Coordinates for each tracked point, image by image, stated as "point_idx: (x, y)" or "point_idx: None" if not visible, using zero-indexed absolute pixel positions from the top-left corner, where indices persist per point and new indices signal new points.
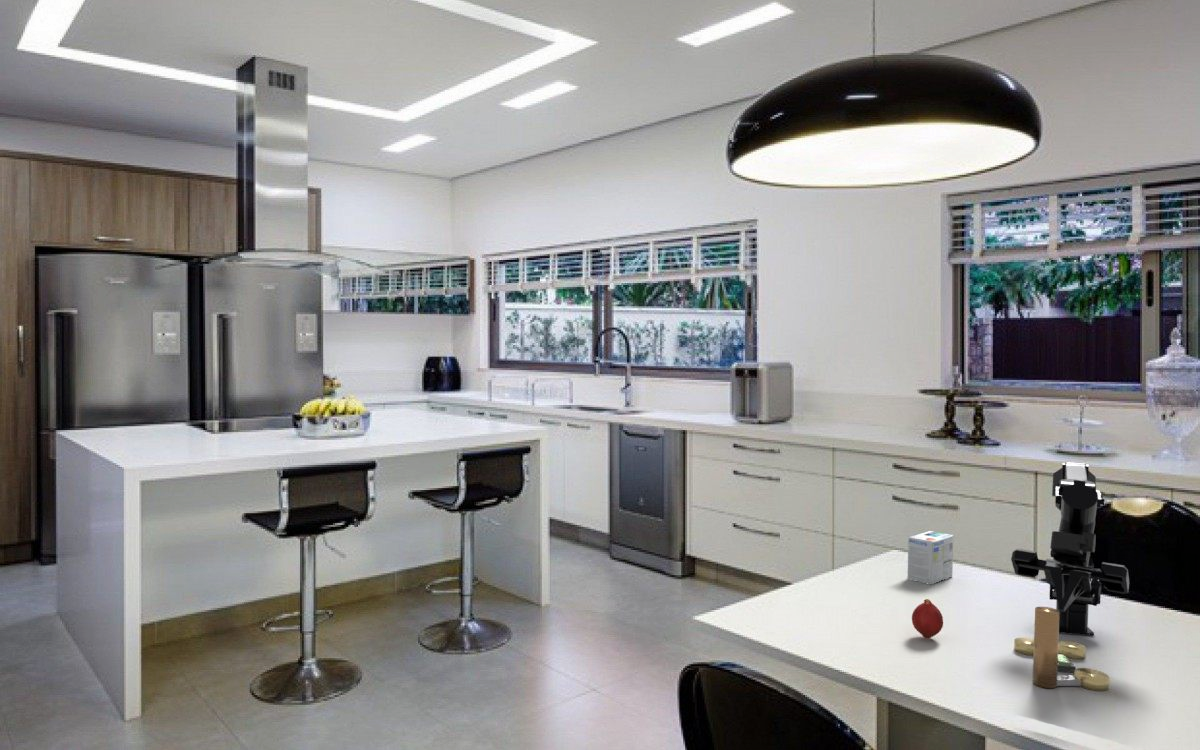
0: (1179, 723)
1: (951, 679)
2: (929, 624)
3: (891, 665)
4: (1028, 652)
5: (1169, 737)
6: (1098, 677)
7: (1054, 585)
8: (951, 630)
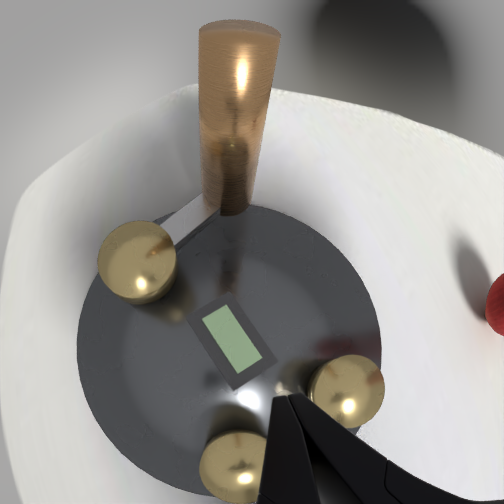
0: (18, 239)
1: (363, 165)
2: (500, 277)
3: (432, 166)
4: (329, 361)
5: (41, 180)
6: (118, 245)
7: (417, 478)
8: (486, 400)
